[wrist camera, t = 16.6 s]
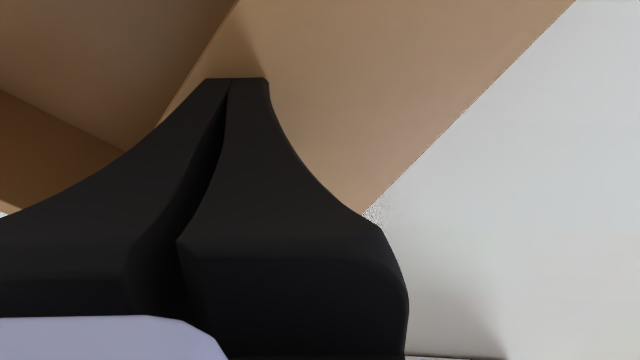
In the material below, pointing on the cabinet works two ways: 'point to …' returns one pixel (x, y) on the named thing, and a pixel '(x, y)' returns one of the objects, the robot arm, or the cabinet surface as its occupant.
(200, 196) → the robot arm
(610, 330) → the cabinet surface
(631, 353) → the cabinet surface
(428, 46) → the flap
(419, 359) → the medicine bottle
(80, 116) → the carton
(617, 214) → the cabinet surface
